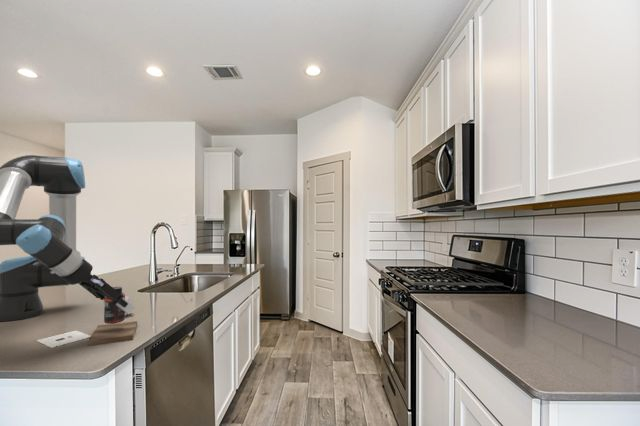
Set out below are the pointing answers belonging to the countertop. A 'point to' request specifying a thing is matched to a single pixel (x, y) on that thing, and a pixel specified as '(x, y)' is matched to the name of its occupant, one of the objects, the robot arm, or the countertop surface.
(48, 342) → the white tile
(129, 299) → the die
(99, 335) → the walnut board
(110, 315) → the supplement bottle
